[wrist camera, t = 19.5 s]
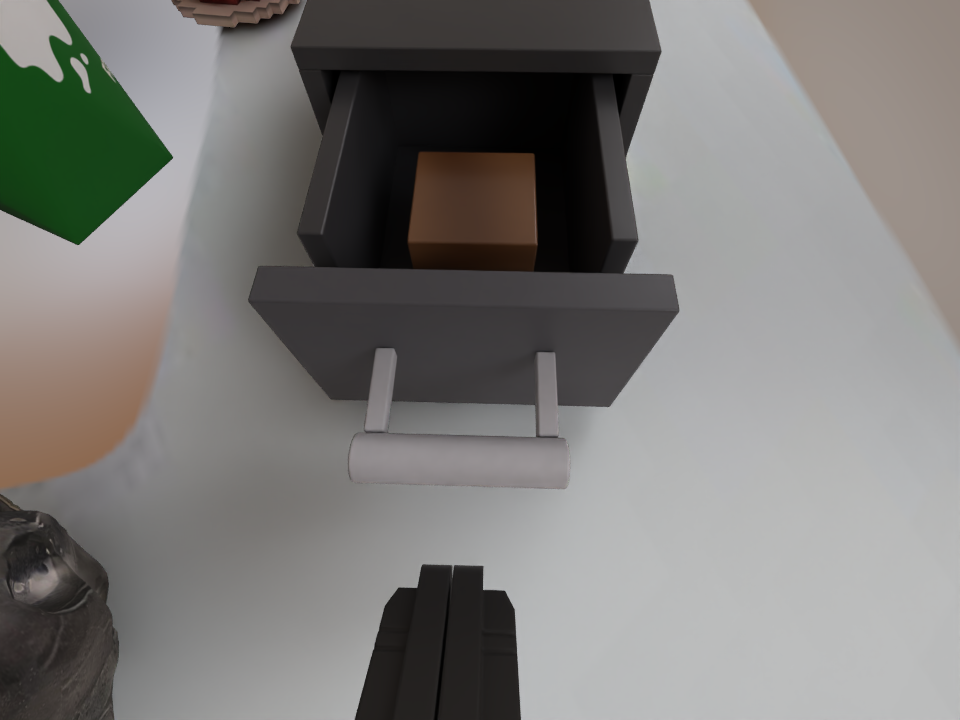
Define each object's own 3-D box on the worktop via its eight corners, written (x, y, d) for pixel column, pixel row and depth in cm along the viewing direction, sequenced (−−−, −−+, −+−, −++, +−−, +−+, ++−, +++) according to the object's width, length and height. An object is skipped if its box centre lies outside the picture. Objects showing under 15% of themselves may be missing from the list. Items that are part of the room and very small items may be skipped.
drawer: (620, 513, 16) (711, 470, 10) (310, 503, 17) (199, 454, 10) (584, 156, 25) (621, 2, 18) (376, 153, 25) (338, -1, 18)
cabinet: (599, 236, 23) (662, 50, 15) (356, 231, 24) (289, 46, 15) (579, 54, 30) (615, -141, 22) (391, 52, 30) (357, -143, 22)
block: (525, 233, 21) (535, 152, 17) (526, 314, 19) (538, 244, 15) (430, 231, 21) (417, 150, 17) (422, 312, 19) (406, 241, 15)
